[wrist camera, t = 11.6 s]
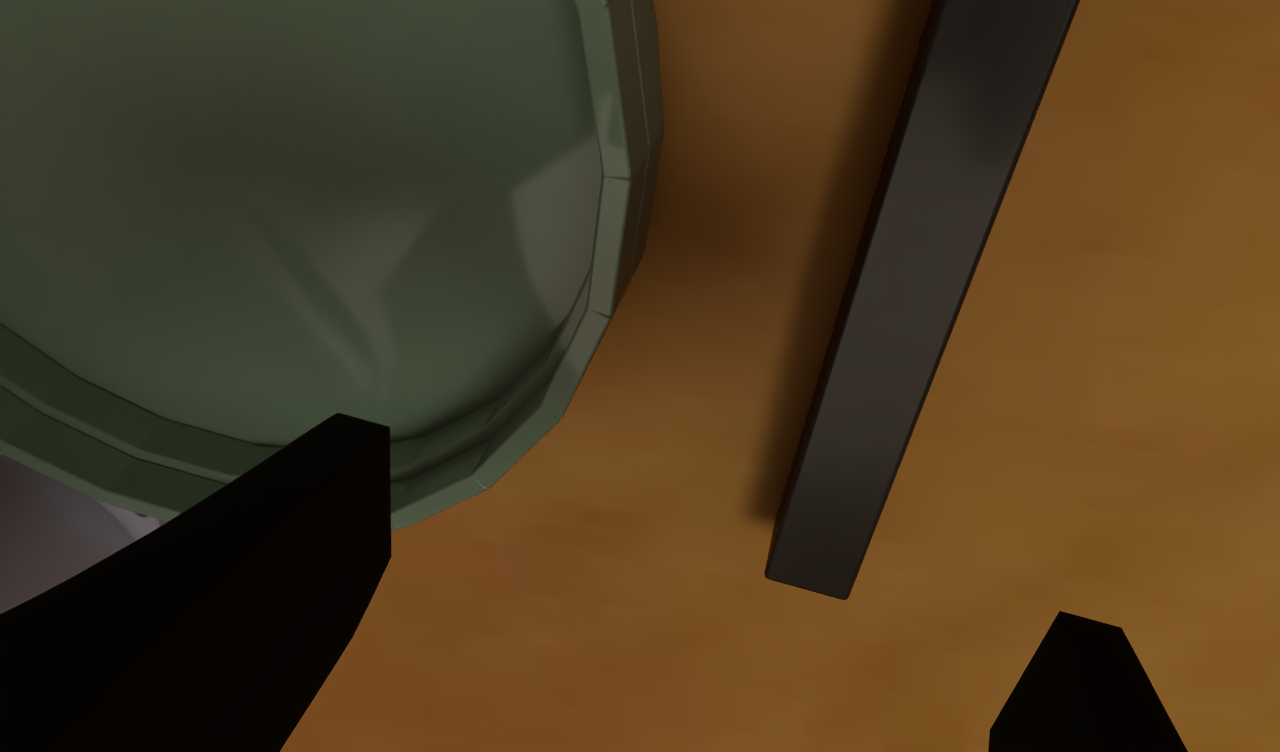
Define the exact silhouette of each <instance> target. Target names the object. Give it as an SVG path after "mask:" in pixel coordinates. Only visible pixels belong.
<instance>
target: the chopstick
mask: <svg viewBox="0 0 1280 752" xmlns="http://www.w3.org/2000/svg"><path fill="white" fill-rule="evenodd" d="M1079 2H1080V0H932V3H931V6H930V9H929V13H928V16H927V19H926V23H925V26H924V29H923V33H922V36H921V39H920V43H919V46H918V49H917V53H916V56H915V59H914V62H913V66H912V69H911V72H910V76H909V79H908V82H907V86H906V89H905V92H904V96H903V99H902V102H901V106H900V109H899V112H898V115H897V119H896V122H895V125H894V129H893V132H892V135H891V139H890V142H889V145H888V149H887V152H886V155H885V158H884V162H883V165H882V168H881V172H880V175H879V178H878V182H877V185H876V188H875V192H874V195H873V198H872V202H871V205H870V208H869V211H868V215H867V218H866V221H865V225H864V228H863V231H862V235H861V238H860V241H859V245H858V248H857V251H856V255H855V258H854V261H853V264H852V268H851V271H850V274H849V278H848V281H847V284H846V288H845V291H844V294H843V298H842V301H841V304H840V307H839V311H838V314H837V317H836V321H835V324H834V327H833V331H832V334H831V337H830V341H829V344H828V347H827V351H826V354H825V357H824V360H823V364H822V367H821V370H820V374H819V377H818V380H817V384H816V387H815V390H814V394H813V397H812V400H811V404H810V407H809V410H808V413H807V417H806V420H805V423H804V427H803V430H802V433H801V437H800V440H799V443H798V447H797V450H796V453H795V457H794V460H793V463H792V466H791V470H790V473H789V476H788V480H787V483H786V486H785V490H784V493H783V496H782V500H781V503H780V506H779V509H778V513H777V516H776V519H775V523H774V528H773V533H772V538H771V543H770V548H769V553H768V558H767V563H766V568H765V577H766V578H767V579H770V580H773V581H777V582H780V583H784V584H788V585H791V586H795V587H798V588H802V589H806V590H809V591H813V592H816V593H820V594H824V595H827V596H831V597H834V598H838V599H842V600H846V599H847V598H848V597H849V595H850V593H851V590H852V588H853V585H854V582H855V580H856V577H857V575H858V572H859V569H860V567H861V564H862V562H863V559H864V557H865V554H866V551H867V549H868V546H869V544H870V541H871V538H872V536H873V533H874V531H875V528H876V526H877V523H878V520H879V518H880V515H881V513H882V510H883V508H884V505H885V502H886V500H887V497H888V495H889V492H890V489H891V487H892V484H893V482H894V479H895V477H896V474H897V471H898V469H899V466H900V464H901V461H902V459H903V456H904V453H905V451H906V448H907V446H908V443H909V440H910V438H911V435H912V433H913V430H914V428H915V425H916V422H917V420H918V417H919V415H920V412H921V410H922V407H923V404H924V402H925V399H926V397H927V394H928V391H929V389H930V386H931V384H932V381H933V379H934V376H935V373H936V371H937V368H938V366H939V363H940V361H941V358H942V355H943V353H944V350H945V348H946V345H947V342H948V340H949V337H950V335H951V332H952V330H953V327H954V324H955V322H956V319H957V317H958V314H959V312H960V309H961V306H962V304H963V301H964V299H965V296H966V293H967V291H968V288H969V286H970V283H971V281H972V278H973V275H974V273H975V270H976V268H977V265H978V263H979V260H980V257H981V255H982V252H983V250H984V247H985V244H986V242H987V239H988V237H989V234H990V232H991V229H992V226H993V224H994V221H995V219H996V216H997V214H998V211H999V208H1000V206H1001V203H1002V201H1003V198H1004V195H1005V193H1006V190H1007V188H1008V185H1009V183H1010V180H1011V177H1012V175H1013V172H1014V170H1015V167H1016V165H1017V162H1018V159H1019V157H1020V154H1021V152H1022V149H1023V146H1024V144H1025V141H1026V139H1027V136H1028V134H1029V131H1030V128H1031V126H1032V123H1033V121H1034V118H1035V116H1036V113H1037V110H1038V108H1039V105H1040V103H1041V100H1042V97H1043V95H1044V92H1045V90H1046V87H1047V85H1048V82H1049V79H1050V77H1051V74H1052V72H1053V69H1054V67H1055V64H1056V61H1057V59H1058V56H1059V54H1060V51H1061V48H1062V46H1063V43H1064V41H1065V38H1066V36H1067V33H1068V30H1069V28H1070V25H1071V23H1072V20H1073V18H1074V15H1075V12H1076V10H1077V7H1078V5H1079Z"/></svg>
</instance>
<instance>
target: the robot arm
mask: <svg viewBox="0 0 1280 752" xmlns="http://www.w3.org/2000/svg"><path fill="white" fill-rule="evenodd" d="M390 558H391V483H390V427H389V426H385V425H382V424H378V423H375V422H371V421H367V420H364V419H360V418H356V417H353V416H349V415H345V414H342V413H336V414H334V415H333V416H331V417H329V418H327V419H326V420H324V421H323V422H321V423H320V424H318V425H317V426H315V427H313V428H312V429H310V430H309V431H307V432H306V433H304V434H303V435H301V436H300V437H298V438H297V439H295V440H294V441H292V442H291V443H289V444H288V445H286V446H285V447H283V448H282V449H280V450H279V451H277V452H276V453H274V454H273V455H271V456H270V457H268V458H267V459H265V460H264V461H262V462H261V463H259V464H258V465H256V466H255V467H253V468H251V469H250V470H248V471H247V472H245V473H244V474H242V475H241V476H239V477H238V478H236V479H235V480H233V481H232V482H230V483H229V484H227V485H226V486H224V487H222V488H221V489H219V490H218V491H216V492H214V493H213V494H211V495H210V496H208V497H206V498H205V499H203V500H202V501H200V502H198V503H197V504H195V505H194V506H192V507H191V508H189V509H187V510H186V511H184V512H183V513H181V514H179V515H178V516H176V517H175V518H173V519H171V520H170V521H168V522H166V521H163V520H159V519H156V518H153V517H149V516H146V515H142V514H139V513H136V512H132V511H129V510H125V509H122V508H119V507H115V506H112V505H108V504H106V503H105V502H104V503H103V502H101V501H98V500H96V499H94V498H92V497H90V496H88V495H86V494H84V493H82V492H80V491H78V490H76V489H73V488H71V487H69V486H67V485H65V484H63V483H61V482H59V481H57V480H55V479H53V478H50V477H48V476H46V475H44V474H42V473H40V472H38V471H36V470H34V469H32V468H30V467H27V466H25V465H23V464H21V463H19V462H17V461H15V460H13V459H11V458H9V457H7V456H5V455H3V454H2V453H0V752H280V750H281V748H282V747H283V745H284V744H285V742H286V741H287V739H288V738H289V736H290V734H291V733H292V731H293V730H294V728H295V727H296V725H297V724H298V722H299V721H300V719H301V717H302V716H303V714H304V713H305V711H306V710H307V708H308V707H309V705H310V703H311V702H312V700H313V699H314V697H315V696H316V694H317V693H318V691H319V689H320V688H321V686H322V685H323V683H324V682H325V680H326V678H327V677H328V675H329V674H330V672H331V671H332V669H333V667H334V666H335V664H336V663H337V661H338V660H339V658H340V656H341V655H342V653H343V652H344V650H345V648H346V647H347V645H348V644H349V642H350V640H351V639H352V637H353V635H354V633H355V631H356V629H357V627H358V625H359V623H360V621H361V619H362V617H363V615H364V613H365V611H366V609H367V607H368V605H369V603H370V601H371V599H372V597H373V595H374V592H375V590H376V588H377V586H378V584H379V582H380V580H381V577H382V575H383V573H384V571H385V569H386V567H387V565H388V562H389V560H390ZM988 752H1188V751H1187V749H1186V748H1185V746H1184V744H1183V742H1182V740H1181V738H1180V736H1179V735H1178V733H1177V731H1176V729H1175V727H1174V725H1173V723H1172V722H1171V720H1170V718H1169V716H1168V714H1167V712H1166V710H1165V708H1164V707H1163V705H1162V703H1161V701H1160V699H1159V697H1158V695H1157V693H1156V691H1155V690H1154V688H1153V686H1152V684H1151V682H1150V680H1149V678H1148V676H1147V674H1146V673H1145V671H1144V669H1143V667H1142V665H1141V663H1140V661H1139V659H1138V657H1137V656H1136V654H1135V652H1134V650H1133V648H1132V646H1131V645H1130V643H1129V641H1128V639H1127V637H1126V635H1125V634H1124V632H1123V630H1122V628H1120V627H1116V626H1113V625H1109V624H1105V623H1102V622H1098V621H1095V620H1091V619H1087V618H1084V617H1080V616H1076V615H1073V614H1069V613H1065V612H1062V611H1059V613H1058V615H1057V617H1056V618H1055V620H1054V622H1053V623H1052V625H1051V627H1050V628H1049V630H1048V632H1047V634H1046V635H1045V637H1044V639H1043V640H1042V642H1041V644H1040V646H1039V647H1038V649H1037V651H1036V652H1035V654H1034V656H1033V657H1032V659H1031V661H1030V663H1029V664H1028V666H1027V668H1026V669H1025V671H1024V673H1023V674H1022V676H1021V678H1020V680H1019V681H1018V683H1017V685H1016V686H1015V688H1014V690H1013V692H1012V693H1011V695H1010V697H1009V698H1008V700H1007V702H1006V703H1005V705H1004V707H1003V709H1002V710H1001V712H1000V714H999V715H998V717H997V719H996V721H995V722H994V724H993V726H992V727H991V729H990V738H989V751H988Z"/></svg>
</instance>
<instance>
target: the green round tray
mask: <svg viewBox="0 0 1280 752" xmlns="http://www.w3.org/2000/svg"><path fill="white" fill-rule="evenodd" d="M664 119H665V118H664V109H663V100H662V91H661V82H660V72H659V50H658V29H657V20H656V14H655V9H654V3H653V0H0V453H2V454H3V455H5V456H7V457H9V458H11V459H13V460H15V461H17V462H19V463H21V464H23V465H25V466H27V467H30V468H32V469H34V470H36V471H38V472H40V473H42V474H44V475H46V476H48V477H50V478H53V479H55V480H57V481H59V482H61V483H63V484H65V485H67V486H69V487H71V488H73V489H76V490H78V491H80V492H82V493H84V494H86V495H88V496H90V497H92V498H94V499H96V500H98V501H101V502H103V503H104V502H105V503H106V504H108V505H112V506H115V507H119V508H122V509H125V510H129V511H132V512H136V513H139V514H142V515H146V516H149V517H153V518H156V519H159V520H163V521H166V522H168V521H170V520H171V519H173V518H175V517H176V516H178V515H179V514H181V513H183V512H184V511H186V510H187V509H189V508H191V507H192V506H194V505H195V504H197V503H198V502H200V501H202V500H203V499H205V498H206V497H208V496H210V495H211V494H213V493H214V492H216V491H218V490H219V489H221V488H222V487H224V486H226V485H227V484H229V483H230V482H232V481H233V480H235V479H236V478H238V477H239V476H241V475H242V474H244V473H245V472H247V471H248V470H250V469H251V468H253V467H255V466H256V465H258V464H259V463H261V462H262V461H264V460H265V459H267V458H268V457H270V456H271V455H273V454H274V453H276V452H277V451H279V450H280V449H282V448H283V447H285V446H286V445H288V444H289V443H291V442H292V441H294V440H295V439H297V438H298V437H300V436H301V435H303V434H304V433H306V432H307V431H309V430H310V429H312V428H313V427H315V426H317V425H318V424H320V423H321V422H323V421H324V420H326V419H327V418H329V417H331V416H333V415H334V414H336V413H342V414H345V415H349V416H353V417H356V418H360V419H364V420H367V421H371V422H375V423H378V424H382V425H385V426H389V427H390V483H391V531H392V530H399V529H401V528H406V527H408V526H410V525H412V524H414V523H416V522H419V521H421V520H423V519H425V518H427V517H429V516H432V515H434V514H436V513H438V512H440V511H442V510H445V509H447V508H449V507H451V506H453V505H455V504H458V503H460V502H462V501H464V500H466V499H468V498H471V497H473V496H475V495H477V494H479V493H481V492H484V491H486V490H487V489H488V488H490V487H492V486H493V485H494V484H495V483H496V482H497V481H498V480H499V479H500V478H501V477H502V476H503V475H504V474H505V473H506V472H507V471H508V470H509V469H510V468H511V467H512V466H513V465H514V464H516V463H517V462H518V461H519V460H520V459H521V458H522V457H523V456H524V455H525V454H526V453H527V452H528V451H529V450H530V449H531V448H532V447H533V446H534V445H535V444H536V443H537V442H538V441H539V440H540V439H542V438H543V437H544V436H545V435H546V434H547V433H548V432H549V431H550V430H551V429H552V428H553V427H554V426H555V425H556V424H557V423H558V422H559V421H560V419H561V418H562V417H563V415H564V413H565V411H566V409H567V407H568V405H569V403H570V401H571V399H572V397H573V395H574V393H575V391H576V389H577V387H578V385H579V383H580V381H581V379H582V377H583V375H584V373H585V371H586V369H587V367H588V365H589V363H590V361H591V359H592V357H593V355H594V353H595V352H596V350H597V347H598V345H599V343H600V341H601V339H602V337H603V335H604V333H605V331H606V329H607V327H608V325H609V323H610V321H611V319H612V317H613V315H614V313H615V311H616V309H617V307H618V305H619V303H620V301H621V299H622V297H623V295H624V293H625V291H626V289H627V287H628V285H629V283H630V281H631V279H632V277H633V275H634V273H635V271H636V269H637V267H638V265H639V263H640V261H641V259H642V257H643V252H644V250H645V246H646V240H647V233H648V227H649V221H650V214H651V208H652V202H653V195H654V189H655V183H656V176H657V170H658V164H659V157H660V151H661V145H662V138H663V132H664V123H663V122H664Z"/></svg>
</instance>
